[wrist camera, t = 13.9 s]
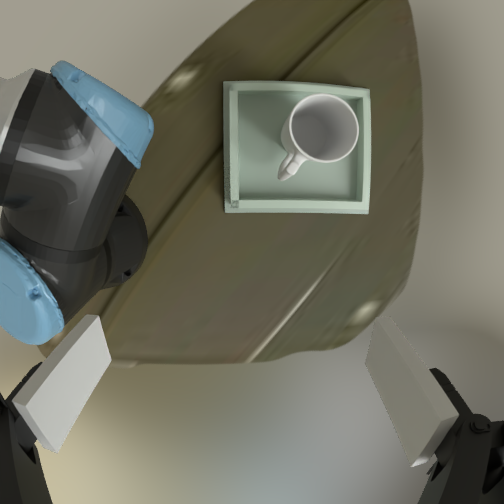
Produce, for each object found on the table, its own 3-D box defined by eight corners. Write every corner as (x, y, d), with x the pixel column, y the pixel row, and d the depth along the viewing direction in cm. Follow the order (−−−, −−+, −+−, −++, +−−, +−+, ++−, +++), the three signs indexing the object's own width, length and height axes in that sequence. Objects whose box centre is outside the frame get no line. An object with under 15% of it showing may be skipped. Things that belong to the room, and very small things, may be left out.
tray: (225, 212, 40) (223, 216, 37) (223, 82, 34) (221, 76, 32) (367, 213, 40) (374, 217, 37) (368, 89, 34) (376, 85, 32)
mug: (298, 102, 35) (316, 79, 23) (338, 132, 36) (371, 123, 25) (253, 161, 37) (253, 161, 26) (295, 191, 39) (311, 204, 27)
